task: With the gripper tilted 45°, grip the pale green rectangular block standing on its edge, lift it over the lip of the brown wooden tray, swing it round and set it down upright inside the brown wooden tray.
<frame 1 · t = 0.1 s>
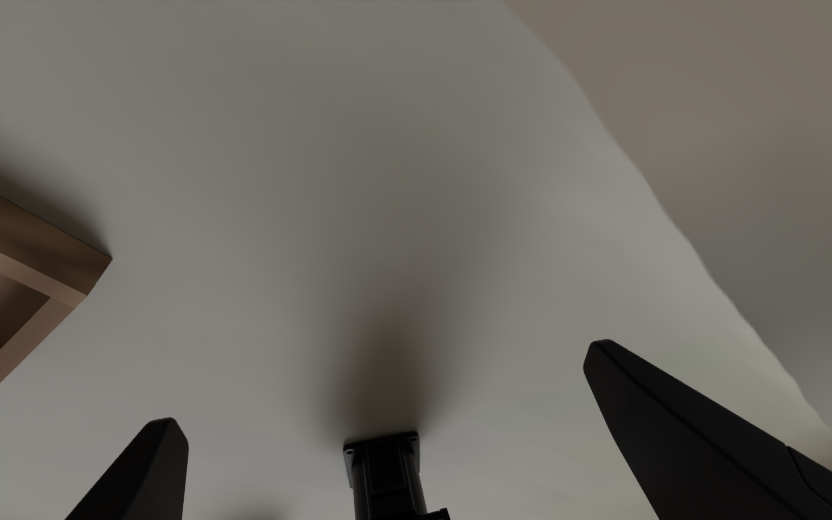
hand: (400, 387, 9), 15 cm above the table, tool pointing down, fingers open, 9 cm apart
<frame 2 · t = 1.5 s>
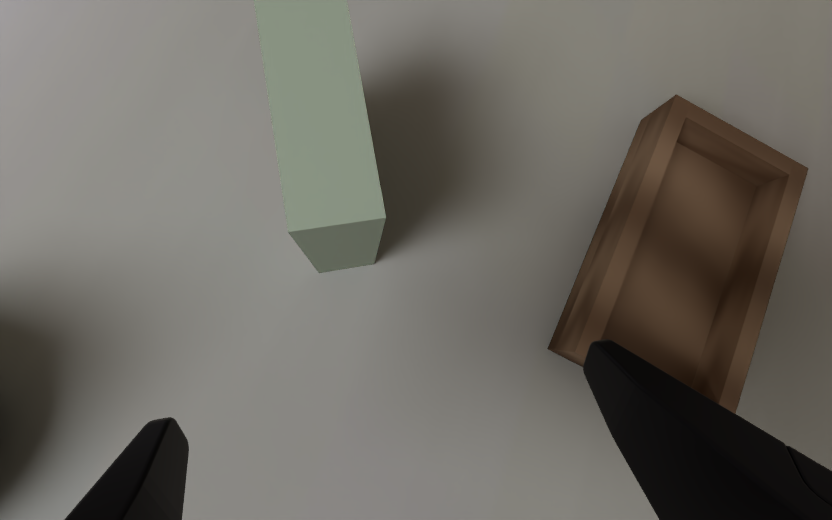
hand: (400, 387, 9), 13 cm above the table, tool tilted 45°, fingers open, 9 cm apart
brown wooden tray: (661, 261, 25), on the table
pale green rectangular block: (333, 190, 23), on the table
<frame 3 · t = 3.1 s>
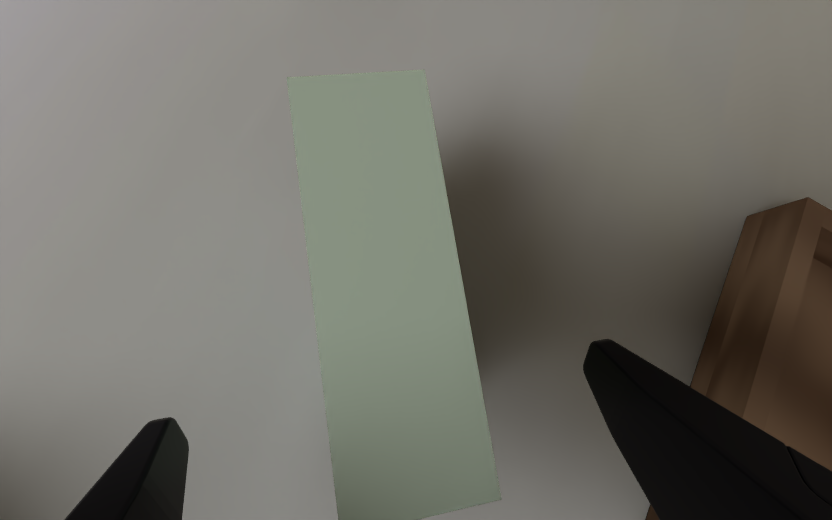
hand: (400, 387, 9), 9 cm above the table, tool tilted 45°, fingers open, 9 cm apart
brown wooden tray: (780, 400, 20), on the table
pale green rectangular block: (371, 309, 18), on the table
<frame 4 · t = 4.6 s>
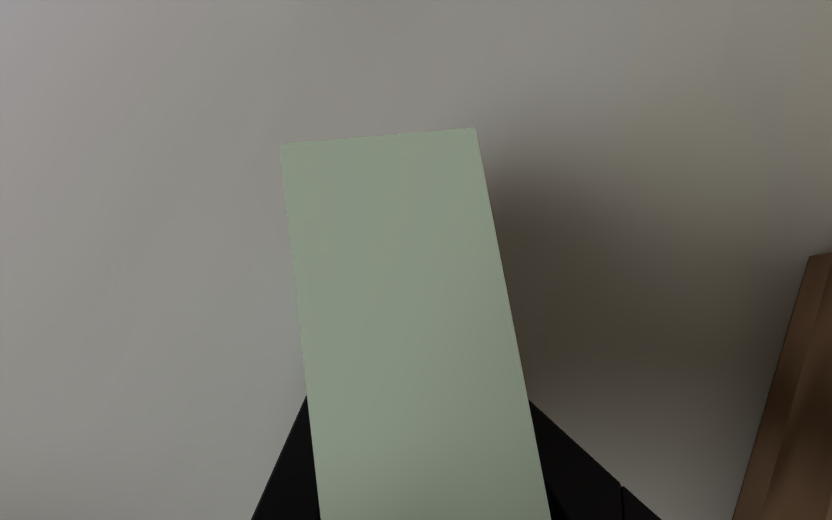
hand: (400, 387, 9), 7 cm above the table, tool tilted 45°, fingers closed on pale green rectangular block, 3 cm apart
pale green rectangular block: (383, 375, 15), on the table, touching gripper
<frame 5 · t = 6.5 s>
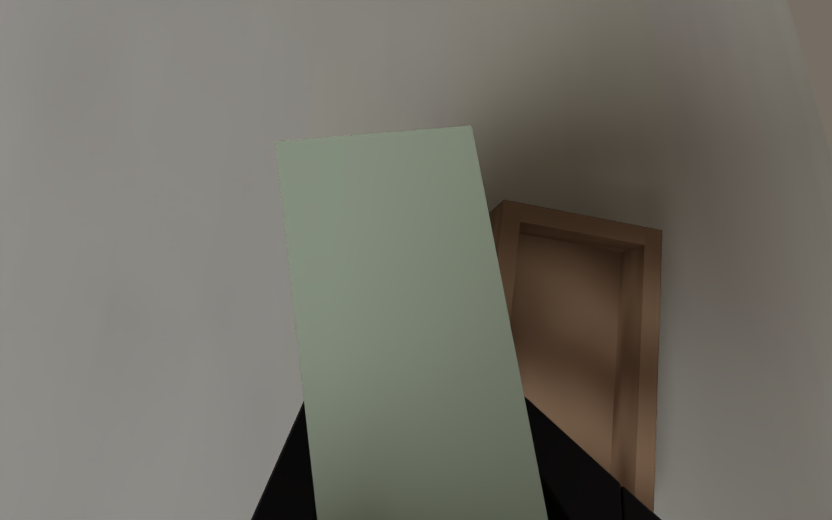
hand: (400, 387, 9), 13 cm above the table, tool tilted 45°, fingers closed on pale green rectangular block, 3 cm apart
brown wooden tray: (546, 364, 23), on the table
pale green rectangular block: (382, 374, 15), point 7 cm above the table, touching gripper
when the fingers open (9 cm above the table, at t = 8.3 s): pale green rectangular block drops 1 cm, resting on brown wooden tray.
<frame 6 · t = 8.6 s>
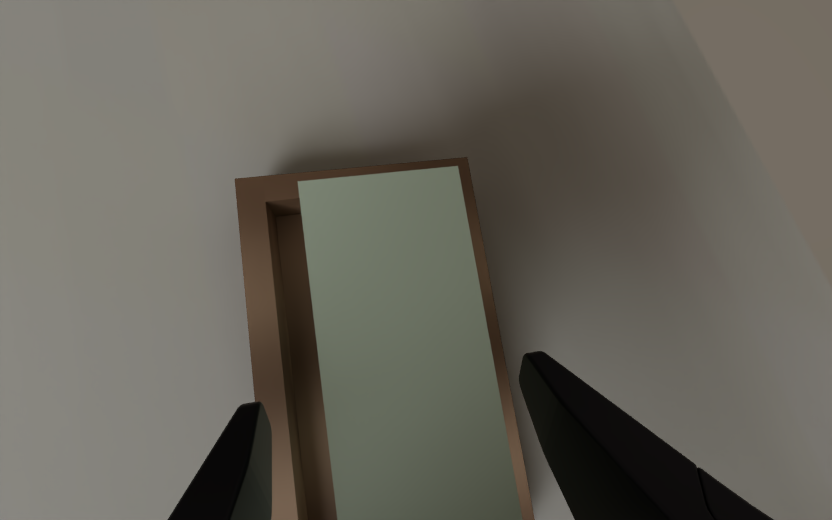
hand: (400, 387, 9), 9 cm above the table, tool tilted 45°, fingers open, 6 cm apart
brown wooden tray: (381, 370, 18), on the table
pale green rectangular block: (382, 372, 17), point 1 cm above the table, touching brown wooden tray
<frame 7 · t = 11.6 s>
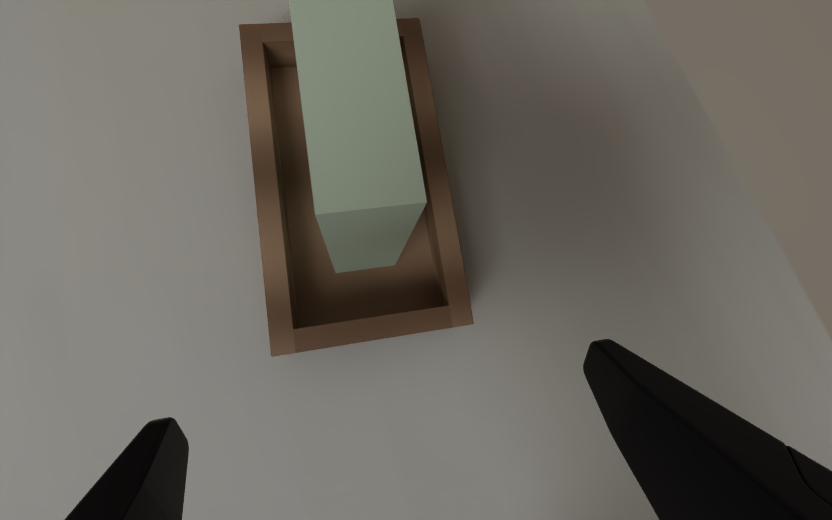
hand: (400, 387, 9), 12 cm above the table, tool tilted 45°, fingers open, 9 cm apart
brown wooden tray: (353, 191, 22), on the table
pale green rectangular block: (353, 184, 21), point 1 cm above the table, touching brown wooden tray
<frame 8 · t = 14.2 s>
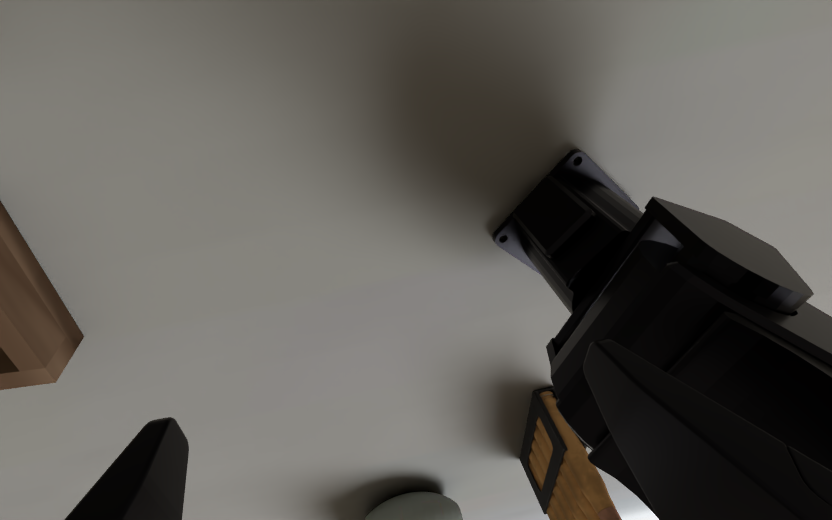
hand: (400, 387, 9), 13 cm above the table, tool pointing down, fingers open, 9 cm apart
air freshener: (405, 504, 40), on the table
ammunition clip: (534, 423, 37), on the table
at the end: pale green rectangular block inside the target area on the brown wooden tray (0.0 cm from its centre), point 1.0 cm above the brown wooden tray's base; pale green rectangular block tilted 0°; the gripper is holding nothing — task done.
